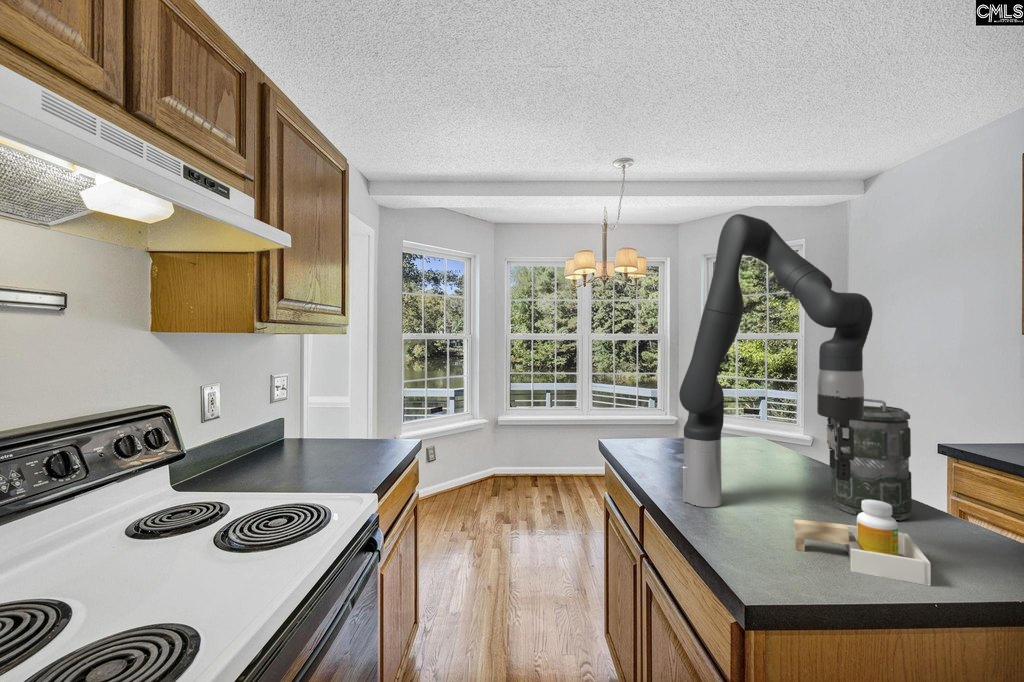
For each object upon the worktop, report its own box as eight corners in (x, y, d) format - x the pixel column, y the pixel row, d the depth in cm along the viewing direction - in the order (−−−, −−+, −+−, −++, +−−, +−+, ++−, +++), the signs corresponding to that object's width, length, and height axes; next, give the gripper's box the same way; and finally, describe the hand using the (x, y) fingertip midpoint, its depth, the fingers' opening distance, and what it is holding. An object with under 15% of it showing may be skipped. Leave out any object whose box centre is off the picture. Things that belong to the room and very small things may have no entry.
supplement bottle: (901, 573, 84) (900, 511, 84) (858, 564, 88) (857, 505, 88) (896, 559, 89) (895, 501, 89) (856, 551, 93) (855, 495, 93)
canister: (817, 504, 119) (816, 397, 119) (856, 496, 125) (855, 394, 125) (886, 526, 105) (884, 404, 105) (926, 516, 111) (925, 400, 111)
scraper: (797, 556, 91) (796, 528, 91) (793, 539, 99) (792, 513, 99) (862, 566, 86) (860, 536, 86) (853, 546, 94) (851, 519, 94)
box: (851, 571, 85) (851, 549, 85) (839, 542, 97) (838, 523, 97) (930, 585, 80) (930, 563, 80) (907, 553, 92) (906, 533, 92)
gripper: (813, 388, 99) (813, 462, 99) (822, 395, 86) (821, 481, 86) (856, 390, 95) (855, 467, 95) (871, 398, 83) (870, 487, 83)
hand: (839, 474), depth 91 cm, fingers open, 8 cm apart
